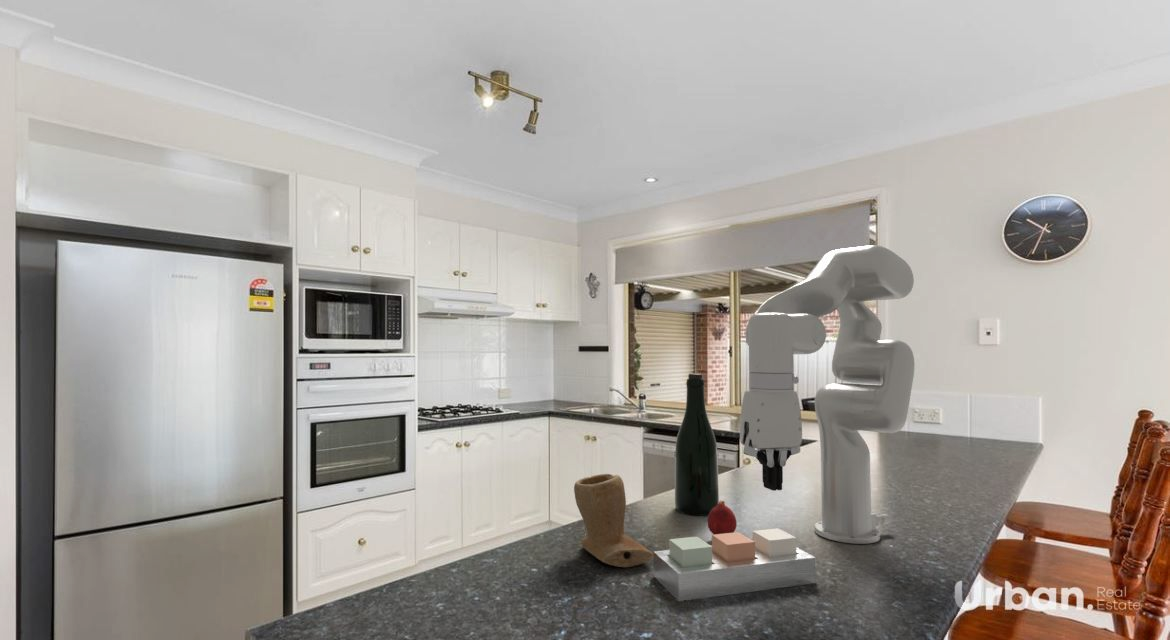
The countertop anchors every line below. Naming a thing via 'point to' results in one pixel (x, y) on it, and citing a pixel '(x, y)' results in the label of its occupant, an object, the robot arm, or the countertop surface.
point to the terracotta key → (733, 547)
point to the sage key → (690, 552)
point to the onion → (721, 519)
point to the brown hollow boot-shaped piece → (607, 521)
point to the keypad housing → (733, 575)
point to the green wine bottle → (696, 455)
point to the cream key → (774, 542)
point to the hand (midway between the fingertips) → (772, 488)
